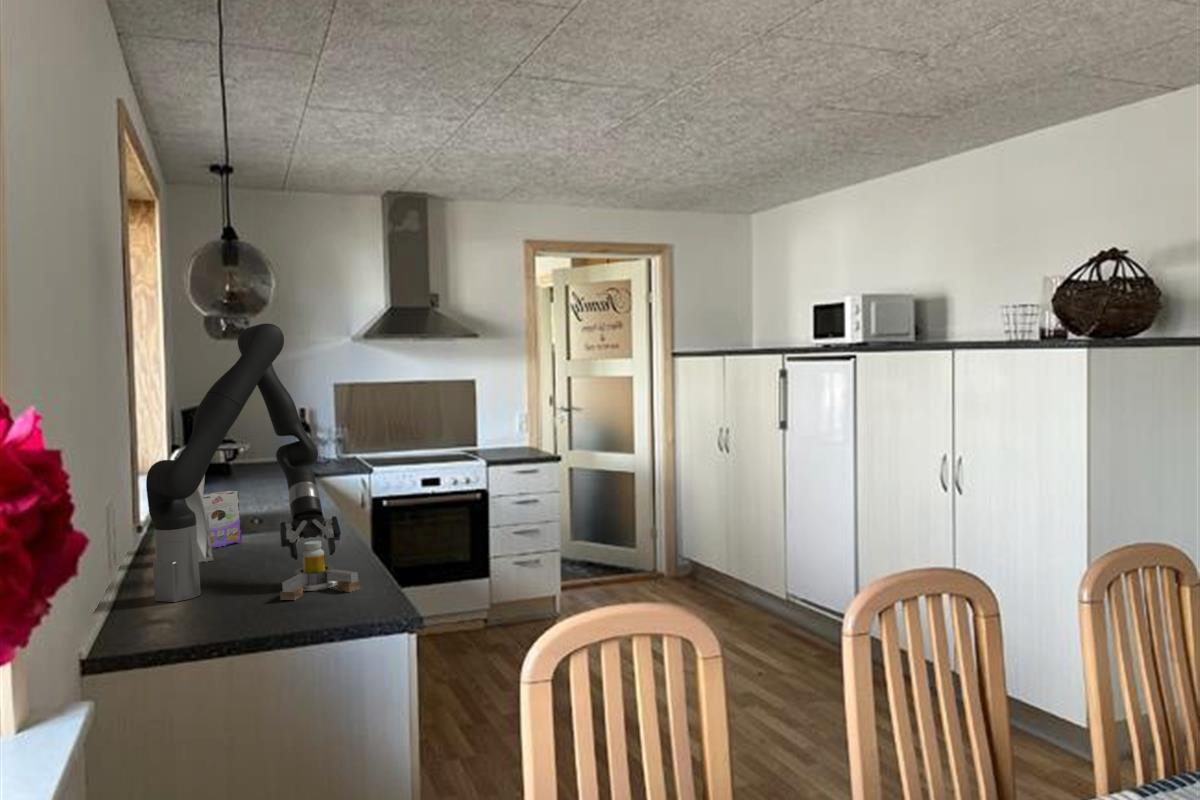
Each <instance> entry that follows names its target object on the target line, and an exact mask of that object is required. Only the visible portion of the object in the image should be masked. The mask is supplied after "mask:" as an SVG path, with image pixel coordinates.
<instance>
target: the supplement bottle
mask: <svg viewBox="0 0 1200 800" xmlns="http://www.w3.org/2000/svg"><path fill="white" fill-rule="evenodd" d="M322 545H323V544H322V541H321V540H310V541H306V542H304V544H303V547H304V551H303V552H302V553H301V560H302V562H301V563H302V568H303V573H315V572H321V571H324V570H325V565H326V556H325V555H326V554H325V551H324V549H323V548H322Z"/></svg>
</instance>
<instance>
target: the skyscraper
mask: <svg viewBox="0 0 1200 800" xmlns="http://www.w3.org/2000/svg"><path fill="white" fill-rule="evenodd" d="M205 479H206V474H205V475H204V477H203V479H202V481H201V483H200V485H199V487H198V488H197V490H196V491H195V492H194V493H193V494H192V495H191V496H189V497H187V498H185V501H186V504H187V506H188V507H189V508H190V509H191V510H192V511H193V512H194V513H195V515H196V527H197V544H198V559H199V564H202V563H201V562H206V563H209V562H208V561H214V555H213V554H214V553H213V549H212V544H211V529H209V520H208V515H207V521H206V515H205V509H204V505H203V495H204V493H205V492H204V491H205Z"/></svg>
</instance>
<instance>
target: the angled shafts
mask: <svg viewBox="0 0 1200 800" xmlns="http://www.w3.org/2000/svg"><path fill="white" fill-rule="evenodd" d="M358 574H359V573H358V572H357V571H351V570H343V569H337V568H336V569H335V568H334V569H333V570H329V571H327V580H330V581H338V582H346V583H354V582H357V581H358V580H359V575H358ZM307 583H308V574H298V575H296V576H295V575H294V576H292V577H291V578H288V579H286V580H285V581H282V583H281V584H282V591H283V592H292V591H294V590H296V589H298V588H300V587H302V586H303V585H305V584H307Z"/></svg>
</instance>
